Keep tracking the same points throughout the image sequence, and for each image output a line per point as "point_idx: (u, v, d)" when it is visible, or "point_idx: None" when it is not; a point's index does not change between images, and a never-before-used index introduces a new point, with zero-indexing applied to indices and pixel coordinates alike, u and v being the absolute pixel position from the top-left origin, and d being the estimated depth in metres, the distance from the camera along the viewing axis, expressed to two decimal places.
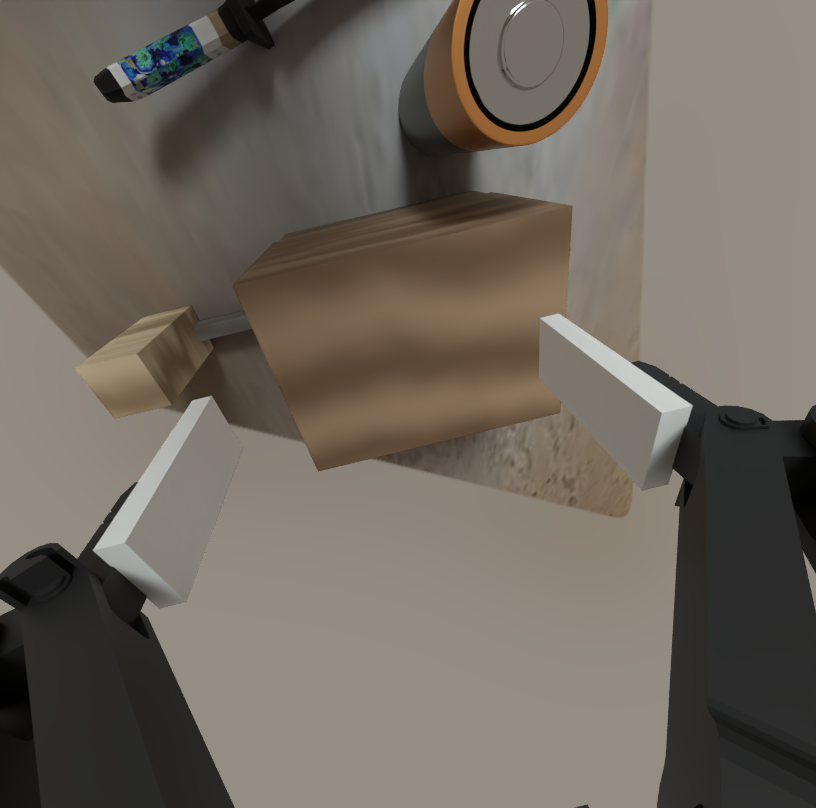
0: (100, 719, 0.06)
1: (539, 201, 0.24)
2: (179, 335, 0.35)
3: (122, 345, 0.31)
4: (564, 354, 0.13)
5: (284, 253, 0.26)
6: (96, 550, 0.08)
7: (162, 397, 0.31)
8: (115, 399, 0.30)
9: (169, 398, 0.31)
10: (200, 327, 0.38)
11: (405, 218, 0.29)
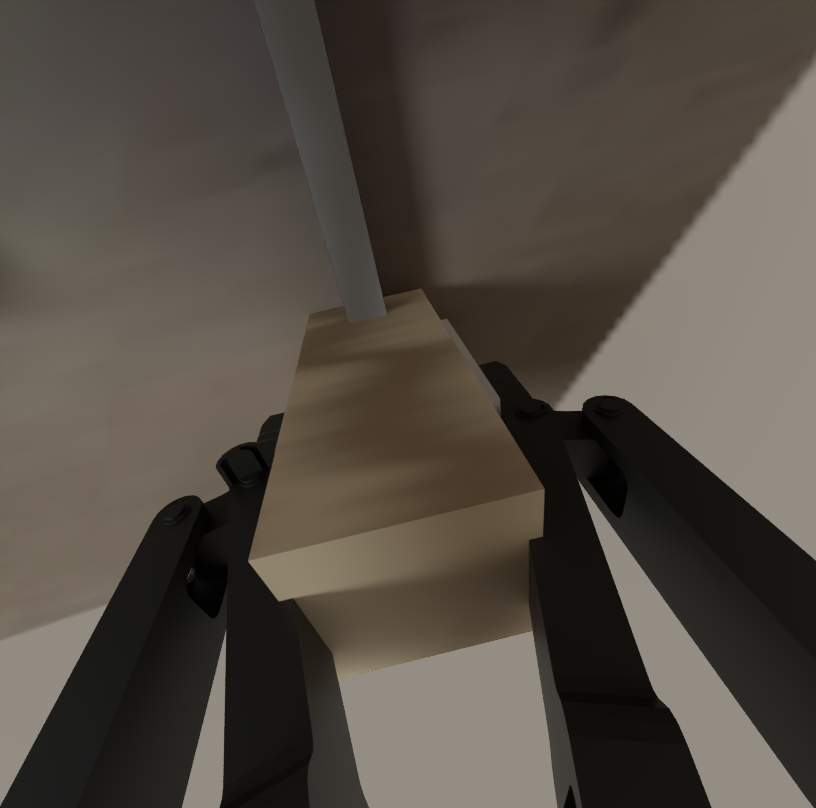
0: (271, 604, 0.07)
1: None
2: (337, 357, 0.12)
3: None
4: None
5: None
6: None
7: (492, 512, 0.06)
8: (467, 623, 0.08)
9: (507, 485, 0.06)
10: (346, 302, 0.14)
11: None
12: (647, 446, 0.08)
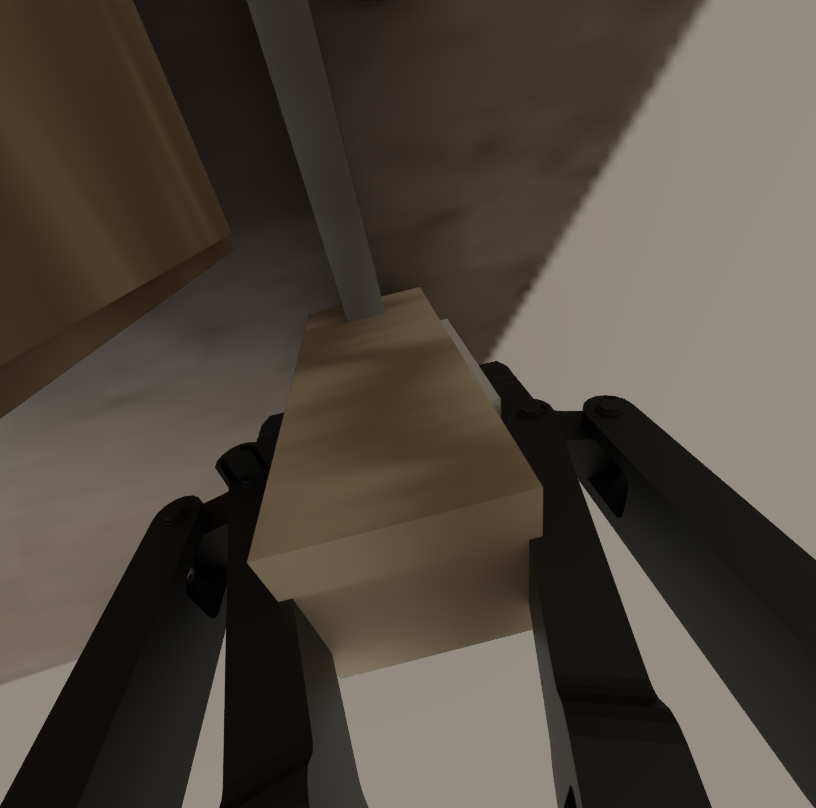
0: (270, 604, 0.07)
1: None
2: (336, 358, 0.12)
3: None
4: None
5: None
6: None
7: (491, 511, 0.06)
8: (468, 622, 0.08)
9: (505, 484, 0.06)
10: (344, 302, 0.14)
11: None
12: (647, 446, 0.08)
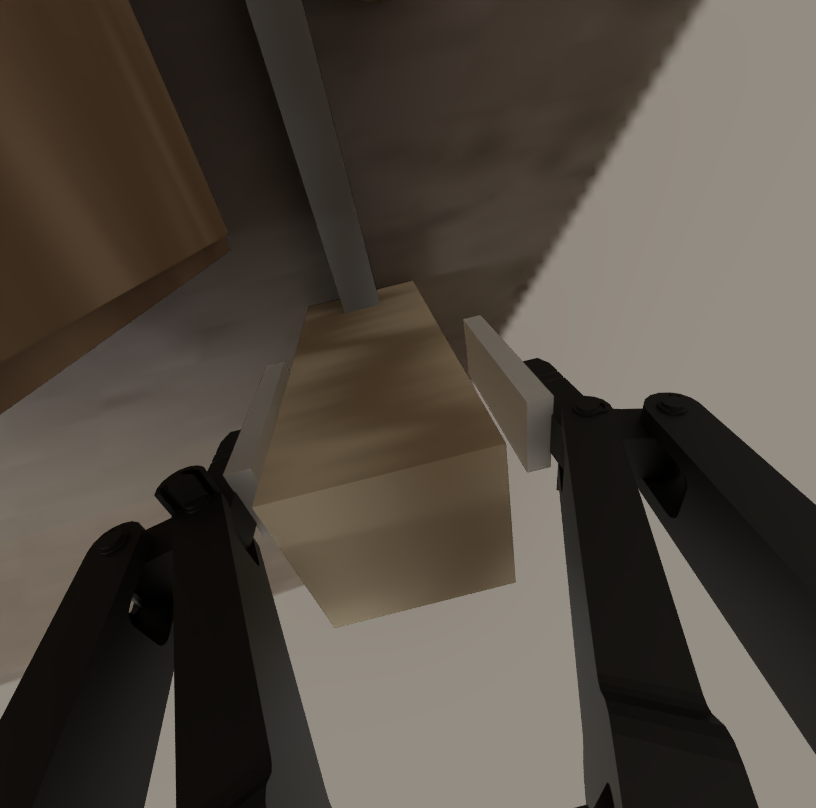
0: (221, 630, 0.06)
1: None
2: (332, 344, 0.13)
3: None
4: (478, 352, 0.14)
5: None
6: (225, 475, 0.10)
7: (461, 464, 0.07)
8: (448, 574, 0.09)
9: (474, 442, 0.07)
10: (341, 294, 0.15)
11: None
12: (713, 446, 0.08)
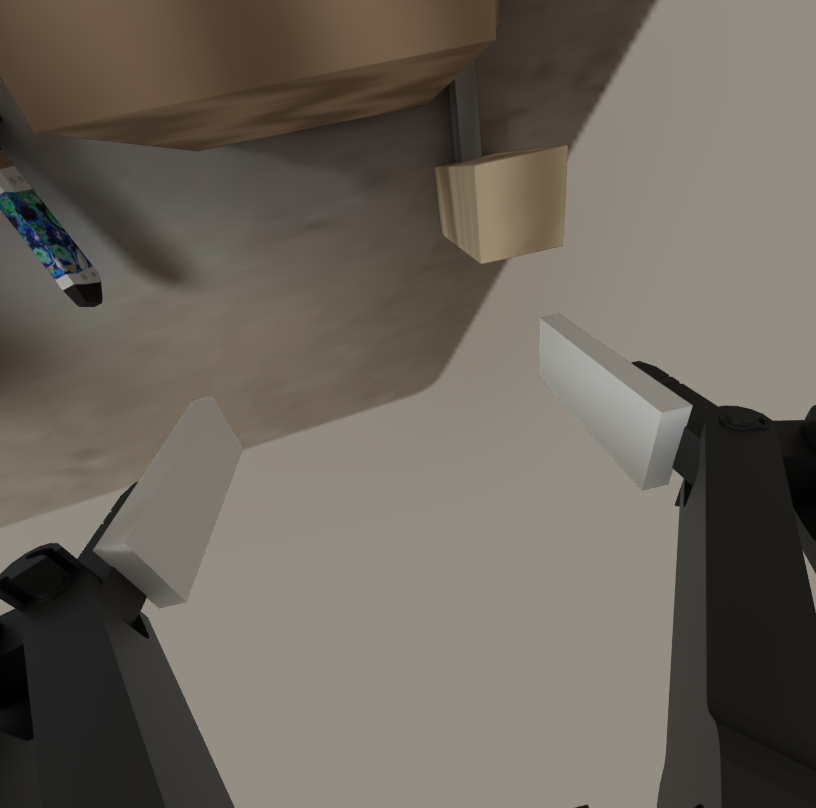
0: (100, 719, 0.06)
1: None
2: (466, 162, 0.25)
3: (464, 217, 0.23)
4: (564, 354, 0.13)
5: None
6: (96, 550, 0.08)
7: (550, 154, 0.19)
8: (535, 231, 0.21)
9: (555, 147, 0.19)
10: (462, 148, 0.27)
11: None
12: None
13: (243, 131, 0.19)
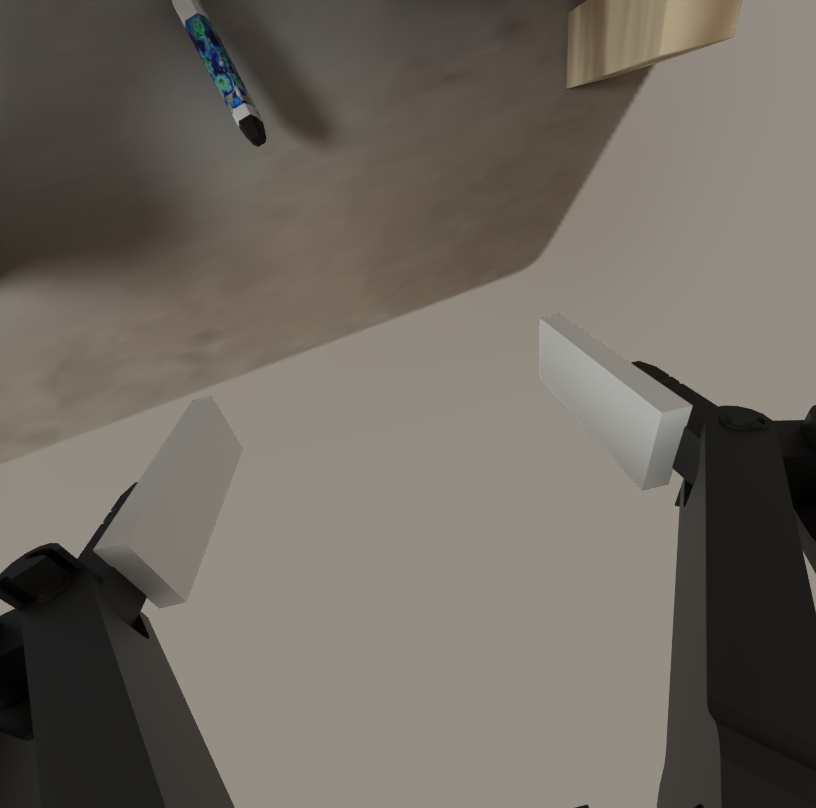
0: (100, 719, 0.06)
1: None
2: None
3: (632, 24, 0.25)
4: (564, 354, 0.13)
5: None
6: (96, 550, 0.08)
7: None
8: (713, 18, 0.23)
9: None
10: None
11: None
12: None
13: None
